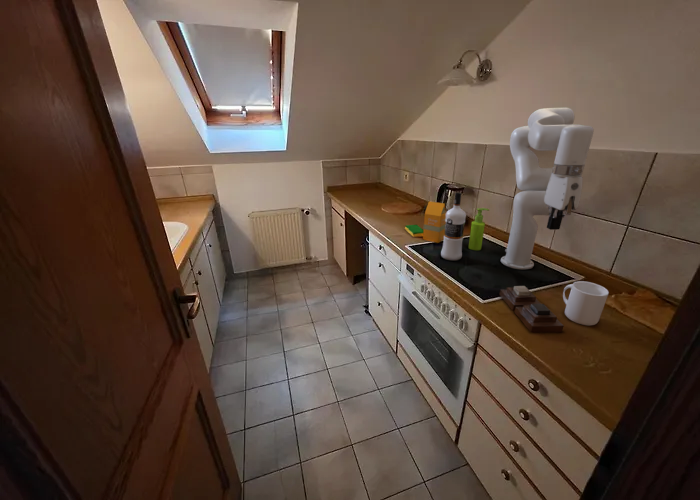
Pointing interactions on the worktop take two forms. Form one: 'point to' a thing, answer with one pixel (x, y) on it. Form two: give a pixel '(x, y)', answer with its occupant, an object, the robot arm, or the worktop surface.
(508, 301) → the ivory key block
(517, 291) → the key ivory
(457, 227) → the vodka
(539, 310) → the key black
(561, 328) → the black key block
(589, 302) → the mug
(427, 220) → the orange juice
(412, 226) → the dish sponge
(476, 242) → the soap dispenser
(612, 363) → the worktop surface
